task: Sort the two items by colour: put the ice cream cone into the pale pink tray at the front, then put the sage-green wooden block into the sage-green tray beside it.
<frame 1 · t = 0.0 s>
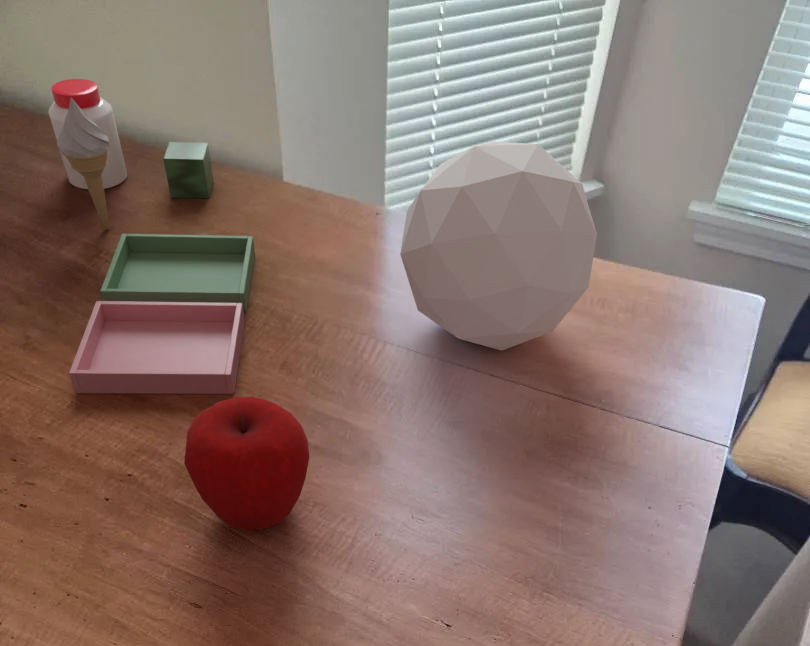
ball: (485, 329, 83), on the table
ice cream cone: (107, 230, 93), on the table
apple: (256, 511, 64), on the table
green block: (192, 189, 101), on the table
pink tray: (165, 355, 77), on the table
green tray: (184, 281, 86), on the table
pill bottle: (98, 178, 102), on the table
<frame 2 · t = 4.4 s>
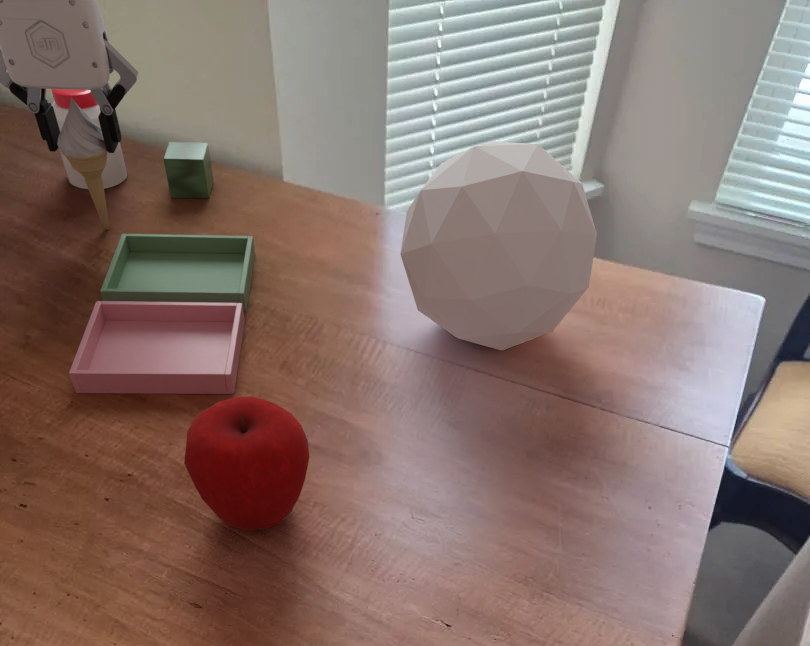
hand: (84, 145, 85), 10 cm above the table, tool pointing down, fingers closed on ice cream cone, 5 cm apart
ice cream cone: (107, 230, 93), on the table, touching gripper
everything else where it was.
when the fingers open (10 cm above the table, at t = 12.5 s): ice cream cone stays where it is, resting on pink tray.
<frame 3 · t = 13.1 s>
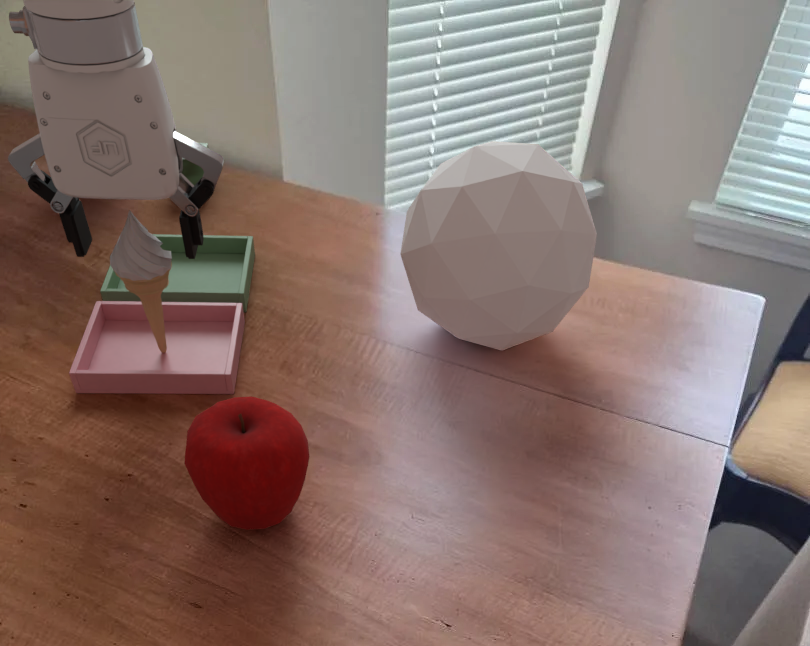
hand: (139, 250, 68), 12 cm above the table, tool pointing down, fingers open, 9 cm apart
ice cream cone: (163, 353, 77), resting on pink tray
everything else where it was.
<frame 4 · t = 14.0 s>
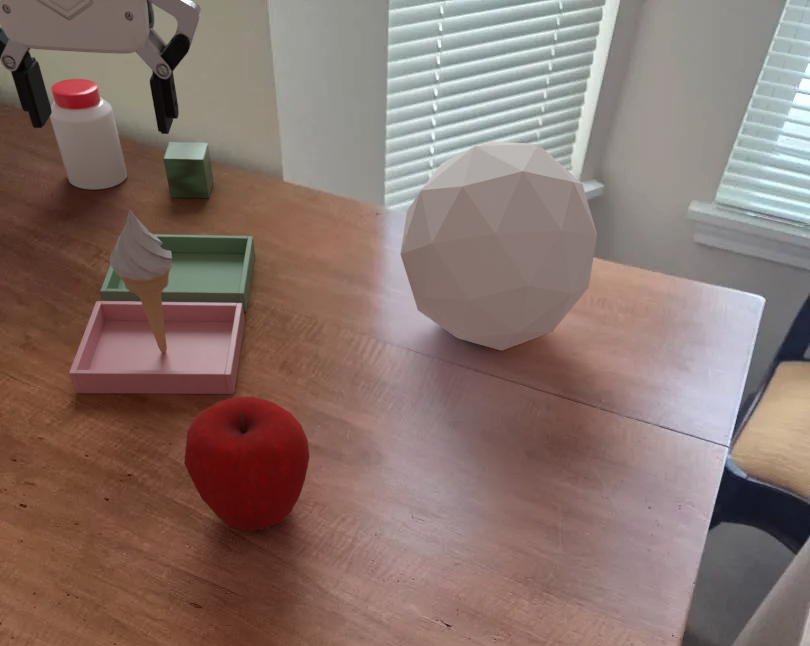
hand: (105, 124, 60), 22 cm above the table, tool pointing down, fingers open, 9 cm apart
nothing on the table moved.
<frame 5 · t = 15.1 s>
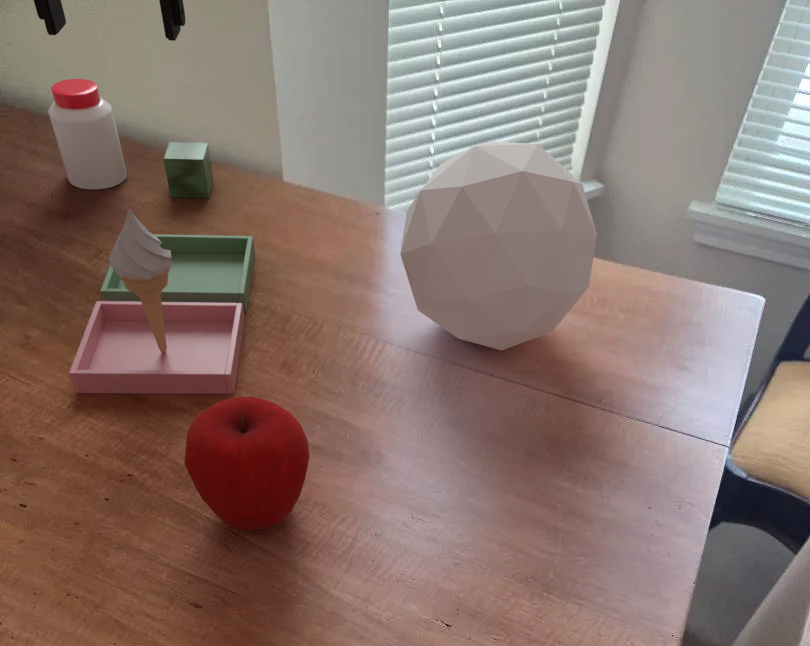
hand: (116, 32, 63), 26 cm above the table, tool pointing down, fingers open, 9 cm apart
nothing on the table moved.
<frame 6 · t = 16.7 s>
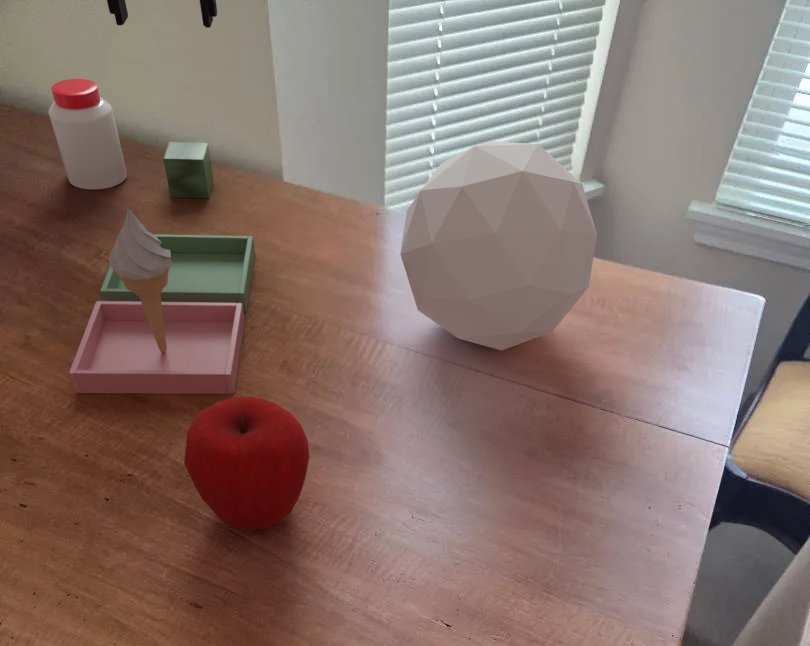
hand: (165, 22, 85), 19 cm above the table, tool pointing down, fingers open, 9 cm apart
nothing on the table moved.
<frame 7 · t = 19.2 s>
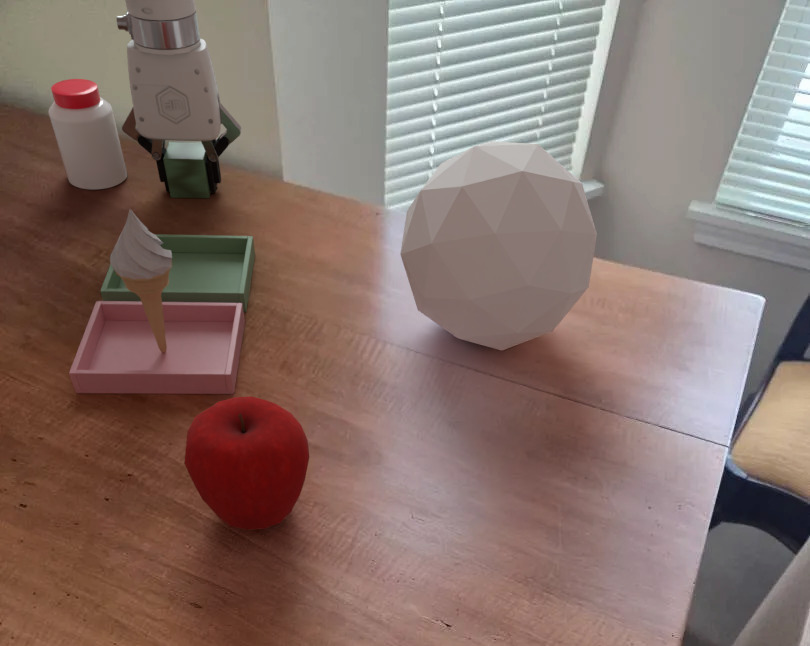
hand: (192, 186, 100), 0 cm above the table, tool pointing down, fingers closed on green block, 5 cm apart
green block: (192, 189, 101), on the table, touching gripper
everything else where it was.
when the fingers open (1 cm above the table, at t = 26.9 s): green block stays where it is, resting on green tray.
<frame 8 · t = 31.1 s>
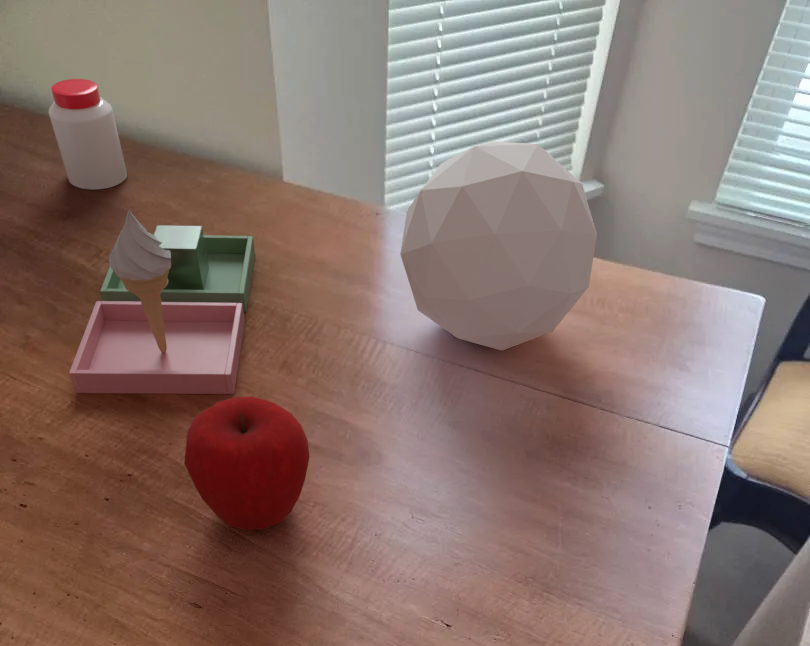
green block: (184, 278, 86), resting on green tray
everything else where it was.
at the end: ice cream cone inside the target area in the pink tray (0.1 cm from its centre), point 0.2 cm above the pink tray's base; green block inside the target area in the green tray (0.1 cm from its centre), point 0.4 cm above the green tray's base; ice cream cone tilted 0° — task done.
